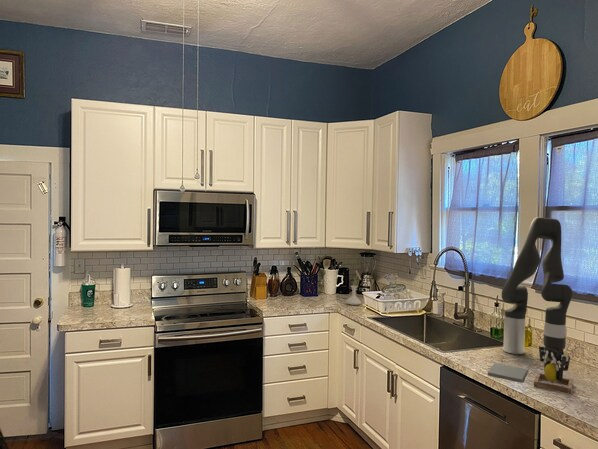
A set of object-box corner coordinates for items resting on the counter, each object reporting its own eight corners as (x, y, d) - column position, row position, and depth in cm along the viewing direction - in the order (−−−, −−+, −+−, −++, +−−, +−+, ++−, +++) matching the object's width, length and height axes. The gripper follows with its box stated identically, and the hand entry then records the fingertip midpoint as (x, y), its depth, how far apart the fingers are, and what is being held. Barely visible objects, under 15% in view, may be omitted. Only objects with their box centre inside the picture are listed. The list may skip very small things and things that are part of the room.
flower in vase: (357, 306, 316) (358, 272, 315) (343, 304, 322) (344, 270, 321) (364, 304, 327) (365, 270, 326) (350, 302, 333) (352, 269, 332)
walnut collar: (537, 377, 181) (537, 372, 181) (572, 384, 174) (572, 379, 174) (533, 386, 170) (533, 381, 170) (571, 394, 163) (571, 389, 163)
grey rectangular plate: (494, 364, 195) (495, 362, 195) (527, 371, 188) (527, 368, 188) (487, 374, 182) (487, 372, 182) (522, 382, 175) (522, 379, 175)
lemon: (545, 384, 171) (545, 363, 170) (543, 379, 176) (543, 359, 176) (561, 386, 169) (562, 365, 168) (558, 381, 174) (559, 361, 174)
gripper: (577, 339, 165) (575, 383, 166) (549, 329, 180) (547, 370, 180) (560, 339, 164) (558, 384, 164) (533, 329, 178) (531, 371, 179)
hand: (552, 376), depth 172 cm, fingers closed on lemon, 5 cm apart
